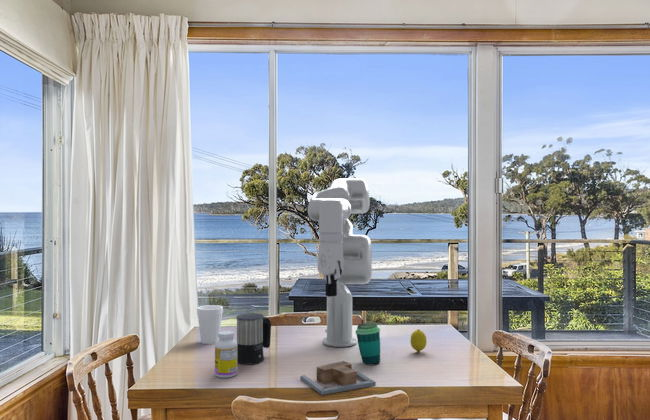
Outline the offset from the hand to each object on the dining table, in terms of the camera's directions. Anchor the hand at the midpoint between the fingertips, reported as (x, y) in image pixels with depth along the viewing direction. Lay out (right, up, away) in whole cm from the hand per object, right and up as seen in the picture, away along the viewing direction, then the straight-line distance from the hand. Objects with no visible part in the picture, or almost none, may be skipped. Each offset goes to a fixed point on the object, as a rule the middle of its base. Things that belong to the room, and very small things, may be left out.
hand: (331, 295), depth 159 cm
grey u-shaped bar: (+1, -23, -14) cm, 27 cm away
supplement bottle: (-32, -23, -8) cm, 40 cm away
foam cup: (-45, -23, +30) cm, 59 cm away
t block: (+3, -22, -14) cm, 27 cm away
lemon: (+31, -23, +16) cm, 42 cm away
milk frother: (-29, -23, +9) cm, 38 cm away
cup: (+12, -23, +5) cm, 26 cm away
